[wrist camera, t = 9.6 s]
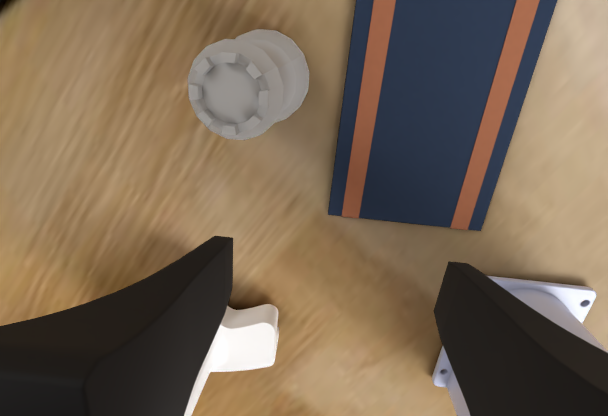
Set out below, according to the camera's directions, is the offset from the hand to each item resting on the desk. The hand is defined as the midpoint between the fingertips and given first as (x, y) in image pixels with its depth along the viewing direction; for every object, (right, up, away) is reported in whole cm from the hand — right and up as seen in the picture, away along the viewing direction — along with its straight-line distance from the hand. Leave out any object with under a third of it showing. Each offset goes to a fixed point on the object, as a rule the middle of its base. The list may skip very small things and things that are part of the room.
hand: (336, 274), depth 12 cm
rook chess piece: (-3, +9, +7) cm, 12 cm away
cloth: (+6, +8, +6) cm, 12 cm away
